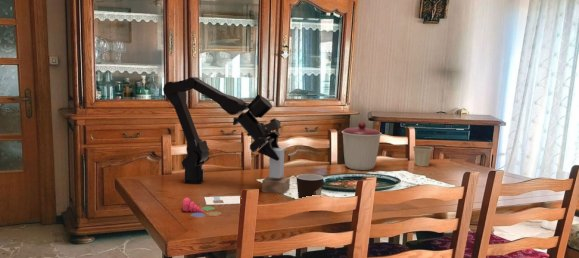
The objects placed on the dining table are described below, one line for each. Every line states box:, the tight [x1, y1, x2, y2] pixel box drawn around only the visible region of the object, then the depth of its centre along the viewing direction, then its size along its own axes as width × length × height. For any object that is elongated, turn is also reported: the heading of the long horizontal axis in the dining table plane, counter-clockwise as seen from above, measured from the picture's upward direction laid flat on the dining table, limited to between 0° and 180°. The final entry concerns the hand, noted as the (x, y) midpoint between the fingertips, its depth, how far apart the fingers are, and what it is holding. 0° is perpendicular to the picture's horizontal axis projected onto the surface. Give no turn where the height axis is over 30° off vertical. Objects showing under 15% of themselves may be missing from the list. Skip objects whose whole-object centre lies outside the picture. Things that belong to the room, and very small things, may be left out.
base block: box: [261, 176, 291, 195], centre depth 180 cm, size 8×8×4 cm
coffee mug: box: [296, 173, 325, 199], centre depth 159 cm, size 12×9×10 cm
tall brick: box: [268, 147, 285, 178], centre depth 179 cm, size 4×5×10 cm
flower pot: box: [412, 145, 434, 167], centre depth 235 cm, size 9×9×9 cm
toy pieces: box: [181, 197, 222, 218], centre depth 150 cm, size 12×11×4 cm
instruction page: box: [204, 195, 241, 206], centre depth 164 cm, size 12×9×1 cm
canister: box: [341, 121, 383, 171], centre depth 223 cm, size 18×18×21 cm
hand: (280, 158), depth 178 cm, fingers closed on tall brick, 5 cm apart
